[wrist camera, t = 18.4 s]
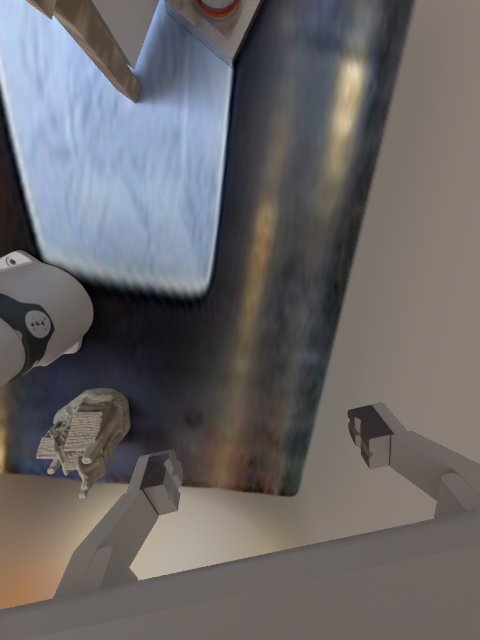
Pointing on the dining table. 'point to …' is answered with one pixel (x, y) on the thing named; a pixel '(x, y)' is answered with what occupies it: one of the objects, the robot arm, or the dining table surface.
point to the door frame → (92, 41)
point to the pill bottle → (217, 8)
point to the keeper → (217, 26)
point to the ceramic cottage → (87, 434)
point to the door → (125, 24)
